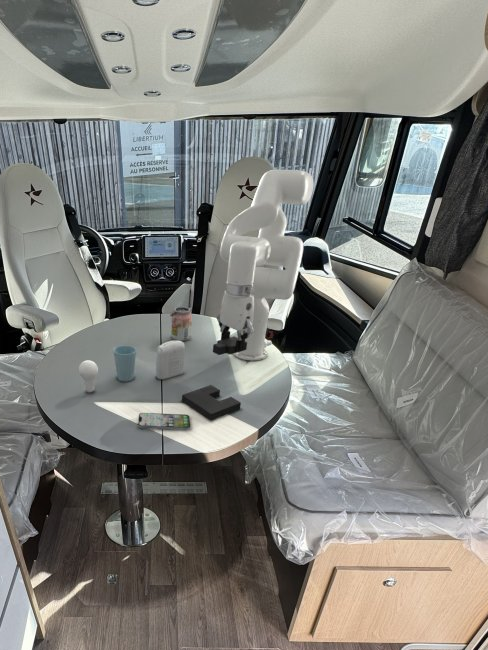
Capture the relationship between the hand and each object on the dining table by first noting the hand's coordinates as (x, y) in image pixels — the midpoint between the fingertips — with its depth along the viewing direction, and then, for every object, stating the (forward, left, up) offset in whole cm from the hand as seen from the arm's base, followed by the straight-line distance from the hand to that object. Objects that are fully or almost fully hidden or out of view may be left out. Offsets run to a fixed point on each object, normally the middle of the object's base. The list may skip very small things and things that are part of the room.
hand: (231, 347), depth 138 cm
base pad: (+11, +5, -15) cm, 19 cm away
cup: (+23, -26, -15) cm, 38 cm away
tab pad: (+2, 0, -1) cm, 2 cm away
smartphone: (+29, +5, -15) cm, 33 cm away
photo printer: (+9, -19, -15) cm, 26 cm away
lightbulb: (+38, -24, -15) cm, 48 cm away
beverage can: (-15, -44, -15) cm, 49 cm away
